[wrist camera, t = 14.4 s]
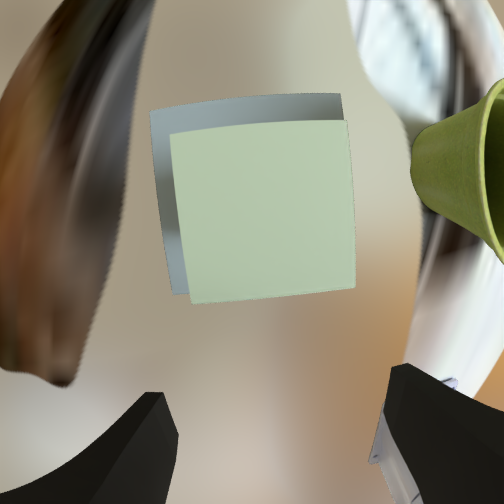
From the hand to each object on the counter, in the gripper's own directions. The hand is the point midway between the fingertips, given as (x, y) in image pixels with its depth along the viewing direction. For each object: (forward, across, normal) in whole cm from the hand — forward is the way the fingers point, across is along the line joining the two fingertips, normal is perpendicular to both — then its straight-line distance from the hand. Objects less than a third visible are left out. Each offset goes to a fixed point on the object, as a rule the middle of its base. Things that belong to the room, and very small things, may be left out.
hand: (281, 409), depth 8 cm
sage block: (+5, 0, -6) cm, 8 cm away
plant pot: (+11, -13, -7) cm, 18 cm away
